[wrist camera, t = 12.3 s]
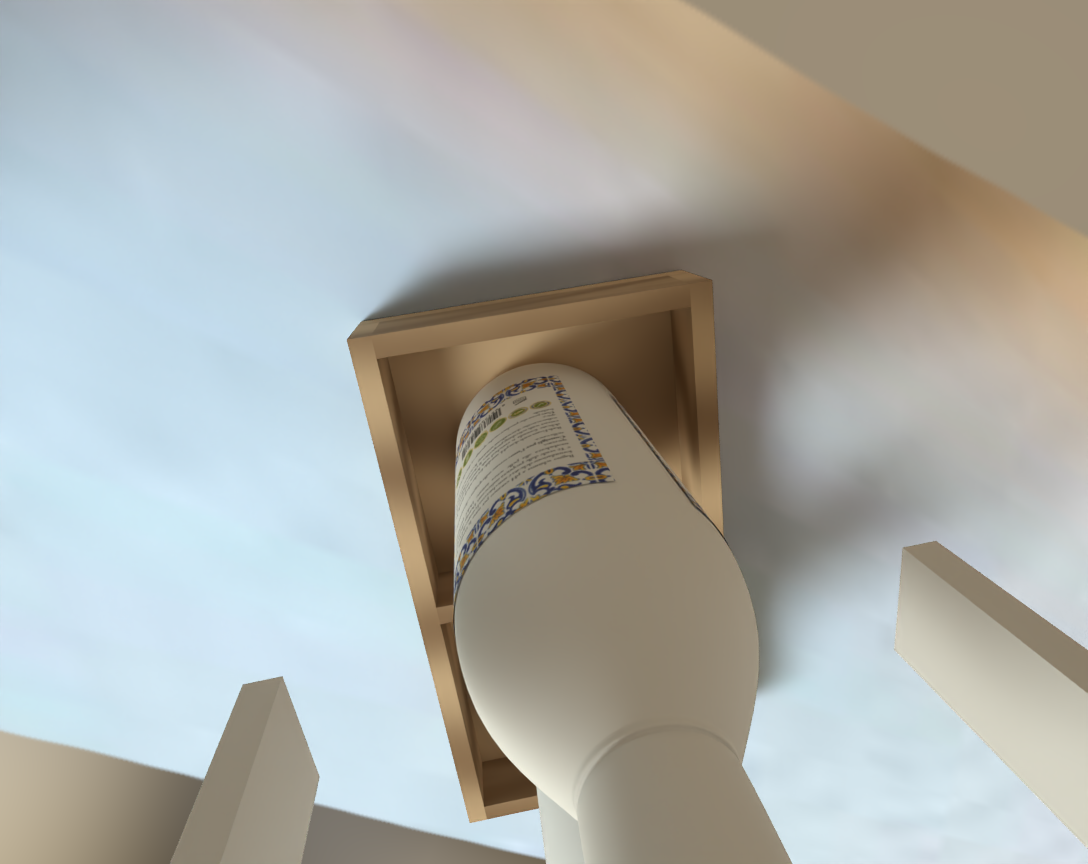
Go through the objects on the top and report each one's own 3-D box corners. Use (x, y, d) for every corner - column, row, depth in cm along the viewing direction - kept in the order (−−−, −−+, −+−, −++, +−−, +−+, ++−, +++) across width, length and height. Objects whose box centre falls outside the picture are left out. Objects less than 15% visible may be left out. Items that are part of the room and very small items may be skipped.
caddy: (361, 321, 24) (346, 339, 21) (681, 269, 25) (712, 280, 22) (468, 763, 33) (469, 822, 30) (708, 713, 33) (733, 766, 30)
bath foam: (431, 490, 26) (366, 1203, 8) (491, 333, 24) (597, 776, 6) (584, 537, 28) (836, 1217, 9) (651, 393, 26) (1136, 889, 7)
